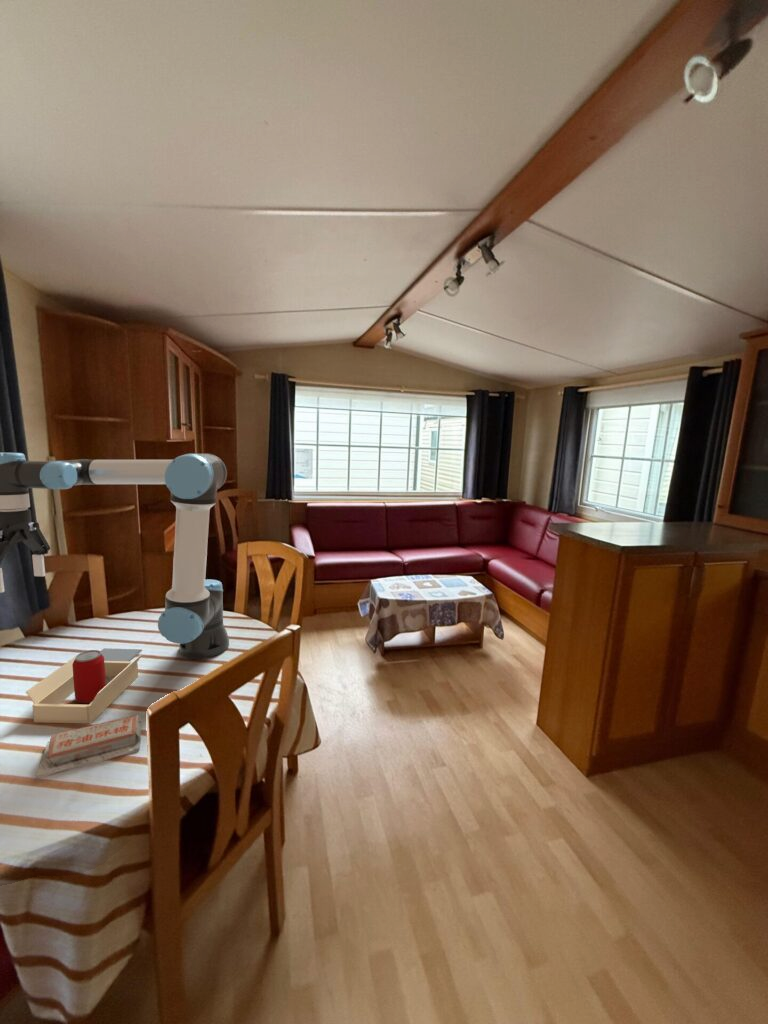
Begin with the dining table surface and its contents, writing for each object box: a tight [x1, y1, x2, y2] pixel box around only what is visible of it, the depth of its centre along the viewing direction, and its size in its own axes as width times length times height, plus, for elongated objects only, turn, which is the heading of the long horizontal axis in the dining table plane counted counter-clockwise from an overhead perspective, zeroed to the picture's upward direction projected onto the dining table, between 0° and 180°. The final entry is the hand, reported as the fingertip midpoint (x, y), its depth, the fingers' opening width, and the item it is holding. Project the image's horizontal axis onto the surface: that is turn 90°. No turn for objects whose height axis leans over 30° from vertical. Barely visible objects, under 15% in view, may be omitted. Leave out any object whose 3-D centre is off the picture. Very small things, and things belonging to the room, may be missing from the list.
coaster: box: [99, 648, 143, 662], centre depth 126 cm, size 12×12×1 cm
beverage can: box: [72, 649, 107, 704], centre depth 107 cm, size 7×7×12 cm
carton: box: [25, 651, 143, 724], centre depth 107 cm, size 17×21×8 cm
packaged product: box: [35, 714, 143, 779], centre depth 90 cm, size 18×5×10 cm
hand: (20, 583), depth 115 cm, fingers open, 13 cm apart
